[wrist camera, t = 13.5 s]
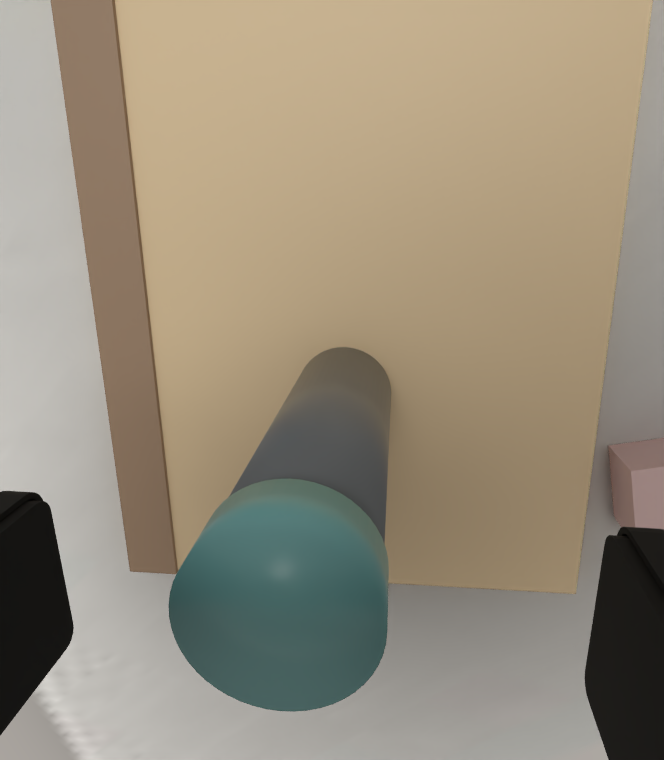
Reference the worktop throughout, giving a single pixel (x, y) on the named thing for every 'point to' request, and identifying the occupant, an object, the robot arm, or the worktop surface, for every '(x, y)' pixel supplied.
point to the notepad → (359, 252)
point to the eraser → (638, 483)
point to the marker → (298, 549)
